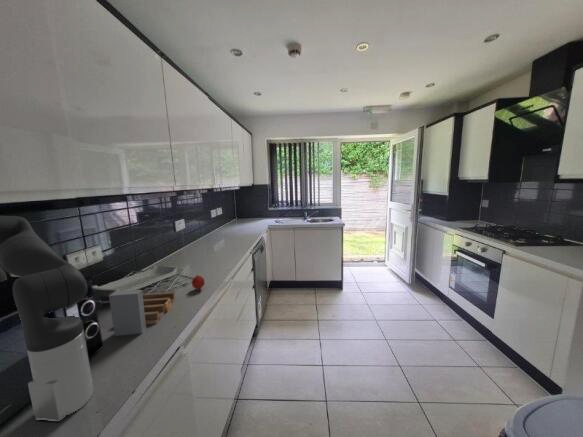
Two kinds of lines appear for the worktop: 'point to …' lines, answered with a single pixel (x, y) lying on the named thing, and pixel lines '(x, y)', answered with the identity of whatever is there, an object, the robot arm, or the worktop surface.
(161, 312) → the rack
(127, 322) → the panel
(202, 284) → the onion
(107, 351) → the worktop surface
